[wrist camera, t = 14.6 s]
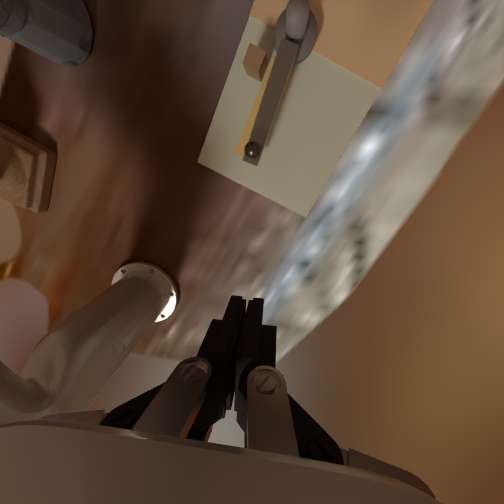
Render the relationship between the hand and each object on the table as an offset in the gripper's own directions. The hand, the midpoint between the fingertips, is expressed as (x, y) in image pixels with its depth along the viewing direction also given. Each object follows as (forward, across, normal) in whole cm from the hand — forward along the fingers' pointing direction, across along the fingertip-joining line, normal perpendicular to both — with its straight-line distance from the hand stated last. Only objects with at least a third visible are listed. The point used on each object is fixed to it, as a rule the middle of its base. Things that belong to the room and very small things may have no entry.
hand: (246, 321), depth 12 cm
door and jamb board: (+27, -4, -19) cm, 33 cm away
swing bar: (+24, +1, -13) cm, 27 cm away
